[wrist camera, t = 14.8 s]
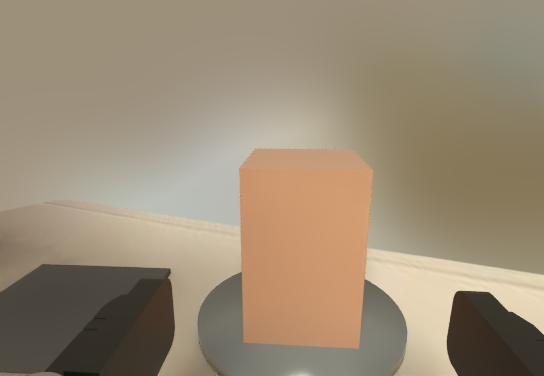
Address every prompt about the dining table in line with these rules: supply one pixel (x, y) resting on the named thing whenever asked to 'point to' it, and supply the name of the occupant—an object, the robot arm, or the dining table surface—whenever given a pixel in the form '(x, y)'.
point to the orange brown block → (304, 246)
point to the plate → (292, 358)
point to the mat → (57, 309)
